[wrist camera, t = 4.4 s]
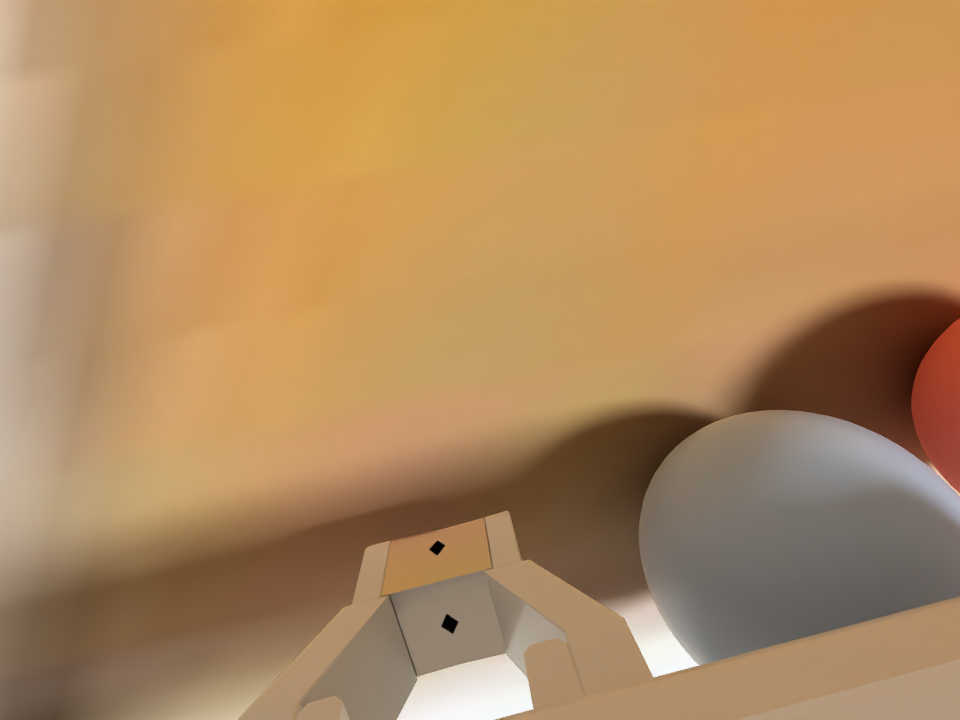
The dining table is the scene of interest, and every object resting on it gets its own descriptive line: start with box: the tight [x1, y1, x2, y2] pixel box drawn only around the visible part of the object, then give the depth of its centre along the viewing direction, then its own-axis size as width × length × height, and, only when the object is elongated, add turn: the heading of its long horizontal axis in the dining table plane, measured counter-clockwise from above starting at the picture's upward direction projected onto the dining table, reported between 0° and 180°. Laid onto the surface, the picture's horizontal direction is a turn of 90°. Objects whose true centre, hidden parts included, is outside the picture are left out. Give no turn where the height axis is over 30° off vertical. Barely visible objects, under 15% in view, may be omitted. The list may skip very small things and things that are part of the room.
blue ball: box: [639, 410, 960, 665], centre depth 9 cm, size 6×6×6 cm
